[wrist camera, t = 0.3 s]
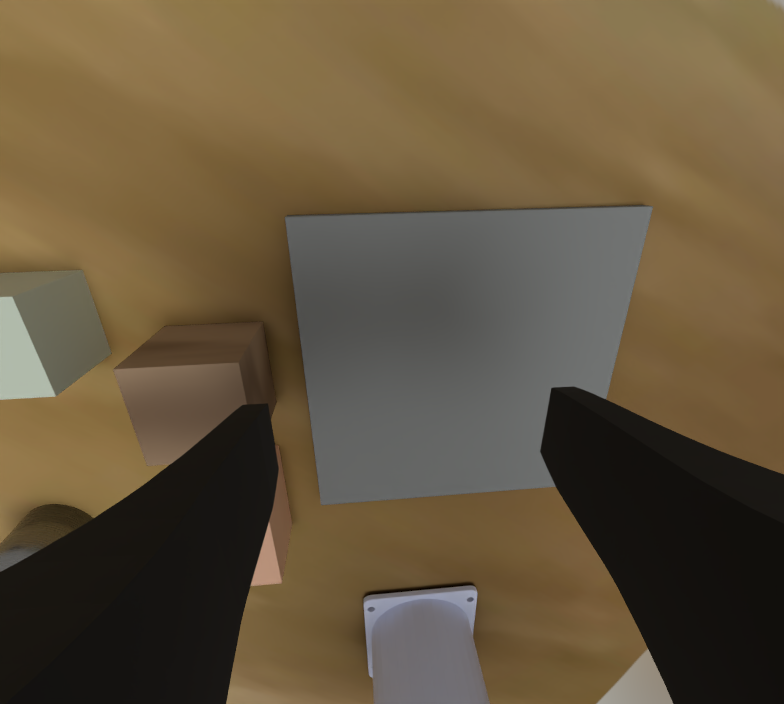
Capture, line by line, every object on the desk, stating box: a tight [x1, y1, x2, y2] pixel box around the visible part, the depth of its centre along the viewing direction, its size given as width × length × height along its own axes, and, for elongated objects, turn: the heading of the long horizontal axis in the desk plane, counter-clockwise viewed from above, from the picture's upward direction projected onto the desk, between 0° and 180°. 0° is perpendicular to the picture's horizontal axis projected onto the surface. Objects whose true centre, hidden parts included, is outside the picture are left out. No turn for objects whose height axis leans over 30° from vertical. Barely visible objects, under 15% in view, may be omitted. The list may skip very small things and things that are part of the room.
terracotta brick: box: [251, 445, 292, 586], centre depth 21 cm, size 6×4×4 cm, turn 1°
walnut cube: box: [113, 322, 276, 466], centre depth 18 cm, size 4×4×4 cm
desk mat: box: [285, 205, 653, 505], centre depth 21 cm, size 16×16×1 cm
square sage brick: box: [0, 270, 112, 400], centre depth 16 cm, size 4×4×4 cm
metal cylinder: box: [0, 504, 93, 572], centre depth 21 cm, size 4×4×4 cm
